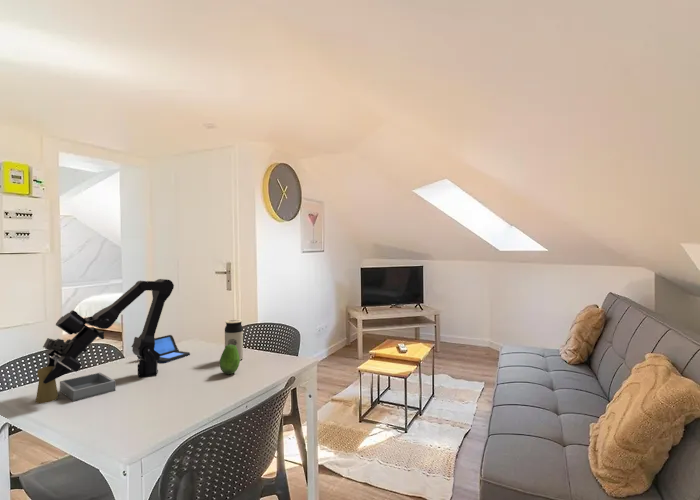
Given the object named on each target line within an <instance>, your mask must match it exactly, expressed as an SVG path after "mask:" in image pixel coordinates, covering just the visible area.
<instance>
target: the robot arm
mask: <svg viewBox="0 0 700 500" xmlns="http://www.w3.org/2000/svg"><path fill="white" fill-rule="evenodd" d="M174 286H175V285H174V282H173V281H172V280H170V279H167V278H166V279H165V278H158V279H156V280H154V281H153V280H147V281H146V280H138V281H136V282H135V283H134V285H132V287H130V288H129V289H128V290H126V292H124V293H123V294H122V295H121V296H120V297H119V298H117V299H116V300H115V301H114V302H113V303H111V304H110V305H108V306H107V307H105V308H102V309H100V310H98V311H97V312H95V313H94V314H93V315H92V316H88V317H82V316H81V315H80V314H79V313H78V311H76V310H73V309H72V310H70V312H67V313H66V314H64V315H63V316H61V317H60V318H59V319H58V320H57V322H55V326H56V327H58V328H59V329H61V330H63V331H64V332H65V333H67V334H68V335H69V336H70V335H74V337H72V338H71V339H70V338H69V339H67V340H66V341H65V340H64V339H61V338H56V339H53V338H50V337H49V338H46V340H45V342H44V344H43V346H42V348H44V349H45V350H48V351H47V352H46V354H47V364H46V366H45V367H48V366H54V368H53V369H52V370H51V372H50V373H49V374H48V375H47V377H46V378H45V379H44V381H43V383H45V384H46V383H48V382H50V381H52V380H54V379H55V380H57V379H58V378H60V377H63V376H64V375H66V374H68V373H72V372H73V371H74V372H76V373H77V372H79V370H80V369H81V367H82V363H81V362H79V361H78V359H77V358H79V357H80V356H81V355H82V353H87V351H88V350H87V348H88V347H89V346H90V345H91V344H92V343H93V342H94V341H95V340H96V339H97V338H99V339H100V340H104V339H105V331H103V330H106V329H109V328H111V327H112V326H113V325H114V323H115V322H116V321H117V320H118V318H119V316H120V314H121V313H122V312H123V311H125V309H126V308H128V307H129V305H132V303H133V302H134V301H135V300H137V299H138V298H139V297H140V296H141V295H143V293H144V292H145V291H151V295H152V300H151V303H150V307H149V310H148V314H147V316H146V320H145V322H144V326H143V329H142V332H141V334H140V335H139V336H138V337H137V336H134V338H133V343H132V345H131V346H130V347H131V348H132V350H131V351H132V353H133V354H134V355H135V356H136V357H137V359H138V364H137V375H138V378H146V377H147V378H148V377H155V376H157V375H158V373H159V369H158V362H157V360H159V358H160V354H159V353H158V352H156V351H155V350H154V348H155V338H156V337H155V334H156V330H157V329H158V324H159V322H160V318H161V315H162V312H163V309H164V305H165V302H166V301H167V300H168V298H169V297H170V296H171V294H172V292H173V290H174ZM87 325H89V326H91V327H89V326H87ZM97 328H98V329H101V330H98V329H97Z"/></svg>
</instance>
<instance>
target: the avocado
mask: <svg viewBox="0 0 700 500" xmlns="http://www.w3.org/2000/svg"><path fill="white" fill-rule="evenodd" d="M240 362H241V360H240V358H239V353H238V350H237V347H236V346H235V345H232V344H229V345H227V346H226V347H225V346H224V349H223V351H222V353H221V355H220V359H219V367H220V371H221V372H222V373H224V374H226V375H232V374H234V373H235V372H237V371H238V369H239V366H240Z"/></svg>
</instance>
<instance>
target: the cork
mask: <svg viewBox="0 0 700 500" xmlns="http://www.w3.org/2000/svg"><path fill="white" fill-rule="evenodd" d="M53 368H54V366H48V367H46V366H43V367H40V368H39V369H38V370H37V371H36V372H37V373H36V376H37V378H38V384H37V391H36V397H35V403H36V404H46V403H50V402H53V401H56V400H58V399H59V395H58V394H59V393H58V387H57V382H56V380H57V379H54V380H52V381H50V382H48V383H46V384H45V383H43V381H44V379H45V378H46V377H47V375H48V374H49V373H50V372H51V370H52V369H53Z"/></svg>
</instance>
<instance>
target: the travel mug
mask: <svg viewBox="0 0 700 500" xmlns="http://www.w3.org/2000/svg"><path fill="white" fill-rule="evenodd" d="M242 323H243V320H242V319H240V318H239V319H238V318H237V319H235V318H233V319H227V320H225V327H224V348H225V347H226V346H227V345H229V344H232V345H235V346H236V347H237V350H238V353H239V358H240V361H242V360H243V359H244V349H243V347H244V345H243V344H244V343H243V340H244V335H243V334H244V331H243V330H244V328H243V325H242ZM241 359H242V360H241Z"/></svg>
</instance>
